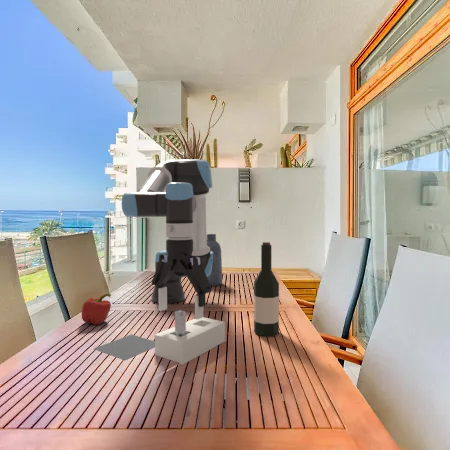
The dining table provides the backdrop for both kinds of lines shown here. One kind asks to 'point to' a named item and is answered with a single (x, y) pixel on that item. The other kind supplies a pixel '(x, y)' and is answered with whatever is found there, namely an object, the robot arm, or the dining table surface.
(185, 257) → the robot arm
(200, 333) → the block
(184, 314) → the peg
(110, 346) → the mat
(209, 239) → the blue-grey bottle
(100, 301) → the vegetable
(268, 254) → the wine bottle
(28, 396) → the dining table surface
